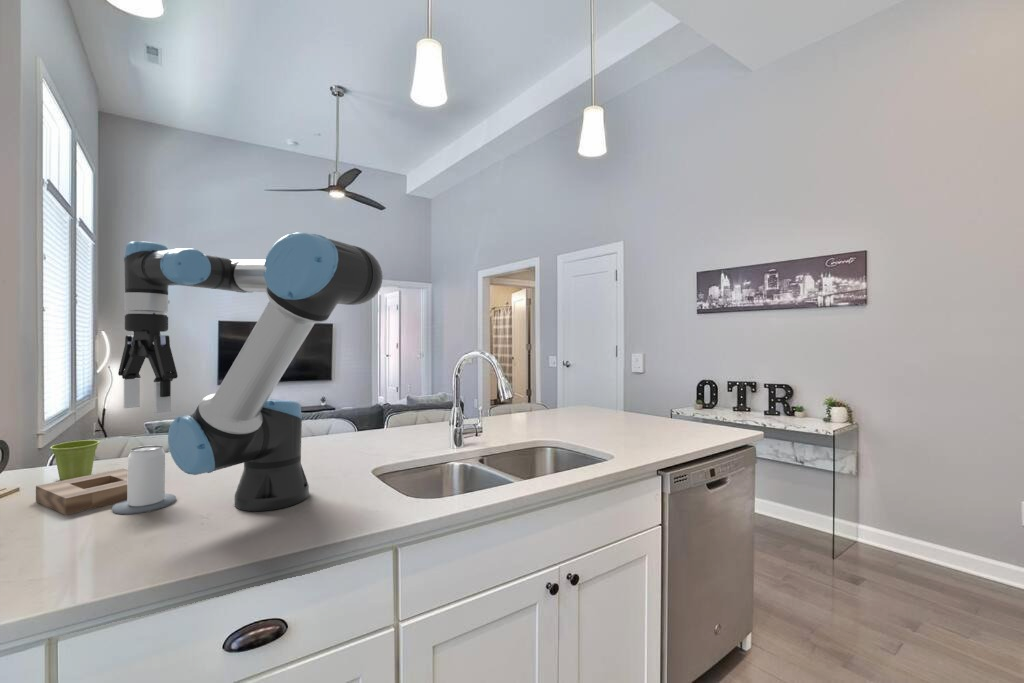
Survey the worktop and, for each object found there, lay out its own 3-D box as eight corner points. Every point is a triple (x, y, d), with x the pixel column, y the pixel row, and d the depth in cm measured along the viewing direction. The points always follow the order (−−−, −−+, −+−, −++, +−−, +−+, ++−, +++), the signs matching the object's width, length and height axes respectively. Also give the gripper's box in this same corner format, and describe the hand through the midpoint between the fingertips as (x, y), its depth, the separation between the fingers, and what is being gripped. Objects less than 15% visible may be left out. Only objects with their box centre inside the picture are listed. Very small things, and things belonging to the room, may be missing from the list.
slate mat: (186, 501, 103) (186, 498, 103) (126, 518, 94) (127, 515, 94) (160, 493, 109) (160, 490, 109) (102, 508, 99) (102, 505, 99)
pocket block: (155, 492, 109) (155, 478, 109) (65, 515, 95) (65, 498, 95) (123, 482, 116) (123, 468, 116) (35, 501, 102) (35, 485, 102)
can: (144, 508, 97) (144, 452, 97) (119, 506, 98) (119, 450, 98) (172, 498, 103) (172, 445, 103) (148, 496, 105) (148, 444, 105)
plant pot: (75, 482, 116) (75, 448, 116) (39, 482, 116) (39, 448, 116) (109, 472, 125) (109, 440, 125) (75, 471, 125) (75, 439, 125)
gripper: (196, 313, 98) (196, 411, 98) (139, 315, 110) (139, 403, 110) (156, 311, 92) (156, 416, 92) (99, 314, 104) (99, 407, 104)
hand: (146, 409), depth 101 cm, fingers open, 13 cm apart
